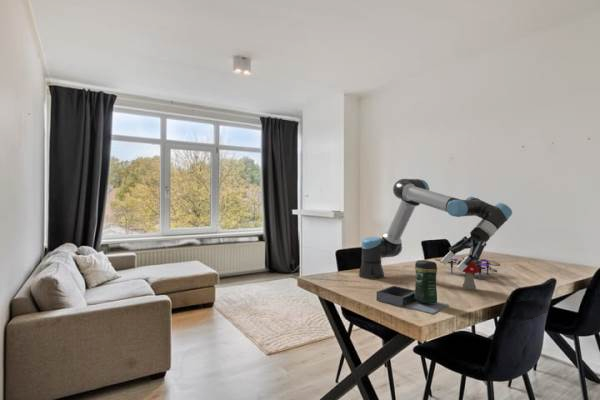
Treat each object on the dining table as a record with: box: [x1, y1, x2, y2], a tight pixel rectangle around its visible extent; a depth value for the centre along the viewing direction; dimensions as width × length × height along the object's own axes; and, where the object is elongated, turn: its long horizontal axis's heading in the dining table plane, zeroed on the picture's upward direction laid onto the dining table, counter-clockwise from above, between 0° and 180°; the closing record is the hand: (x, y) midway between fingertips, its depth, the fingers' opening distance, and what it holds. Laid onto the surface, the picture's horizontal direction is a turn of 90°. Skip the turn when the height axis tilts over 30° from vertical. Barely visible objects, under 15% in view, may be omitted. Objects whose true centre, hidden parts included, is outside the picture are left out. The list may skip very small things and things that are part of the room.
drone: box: [434, 257, 501, 281], centre depth 205 cm, size 40×10×28 cm
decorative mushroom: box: [461, 261, 479, 291], centre depth 174 cm, size 10×9×15 cm
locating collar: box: [376, 285, 417, 308], centre depth 156 cm, size 13×15×4 cm
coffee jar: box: [414, 259, 438, 304], centre depth 150 cm, size 10×8×19 cm
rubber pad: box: [405, 301, 450, 315], centre depth 146 cm, size 12×16×1 cm
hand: (450, 266), depth 147 cm, fingers open, 13 cm apart
